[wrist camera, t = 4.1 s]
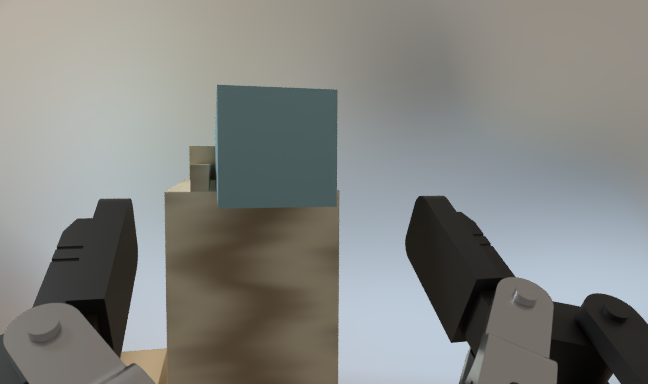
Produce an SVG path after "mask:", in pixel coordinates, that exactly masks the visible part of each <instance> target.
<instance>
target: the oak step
mask: <svg viewBox="0 0 648 384" xmlns="http://www.w3.org/2000/svg"><path fill="white" fill-rule="evenodd" d="M120 359H121V361H122V362H123V363H124V364H125V365H127V366H129V365H130V364H132V363H135V364H137V365H139V366H140V367H141V368H142V369H143V370H144V371H145V372H146V373H147V374H148V375H149V376H150V378H151V379H152V380H153V381H154V382H155V383H156V384H168V376H167V348H166V349H153V350H141V351H129V352H121V357H120Z"/></svg>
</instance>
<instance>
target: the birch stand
mask: <svg viewBox="0 0 648 384" xmlns="http://www.w3.org/2000/svg"><path fill="white" fill-rule="evenodd" d="M165 241H166V243H165V245H166V246H165V247H166V312H167V376H168V384H338V304H339V303H338V301H339V299H338V298H339V190H337V207H284V208H223V209H218V200H217V189H216V158H215V146H190V180H184V181H182V182H180V183H179V184H177V185H175V186H174V187H172V188H170V189H169V190H167V191H165Z"/></svg>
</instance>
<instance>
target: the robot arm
mask: <svg viewBox="0 0 648 384" xmlns="http://www.w3.org/2000/svg"><path fill="white" fill-rule="evenodd" d="M405 245H406V252H407V256H408V258H409V260H410V262H411V264H412V266H413V268H414V270H415V272H416V274H417V276H418V278H419V280H420V282H421V284H422V286H423V288H424V290H425V292H426V294H427V296H428V298H429V300H430V302H431V304H432V306H433V308H434V310H435V312H436V314H437V316H438V318H439V320H440V322H441V324H442V326H443V328H444V330H445V331H446V334H447V335H448V338H449V339H450V342H451V343H453V342H464V341H467V342H468V344H469V345H470V349H469V351H468V353H467V356H466V360H465V364H464V367H463V370H462V374H461V378H460V382H459V384H609V383H608V380H609V379H610V377H611V376H612V374H613V373H614V375H615V376H616V377H617V379H618V380H619V382H620V383H621V384H648V324H647V323H646V322H645V320H644V319H643V318H642V317H641V316H640V315H639V314H638V313H637V312H636V311H635V310H634V309H633V308H632V307H631V306H629V305H628V304H627V303H625V302H623V301H622V300H620V299H617V298H615V297H613V296H609V295H606V294H598V293H597V294H591V295H589V296H587V297H586V299H585V300H584V302H583V304H582V305H581V307H579V306H574V305H569V304H564V303H559V302H553V301H552V299H551V297H550V296H549V295H548V293H547V292H546V291H545V290H543V289H542V288H541V287H540V286H538V285H537V284H535V283H533V282H531V281H528V280H526V279H522V278H516V277H515V276H514V274H513V273H512V272H511V270H510V269H509V268H508V266H507V265H506V264H505V262H504V261H503V260H502V258H501V257H500V256H499V254H498V253H497V251H496V250H495V249H494V247H493V246H491V245H490V242H489V241H488V239H487V238H486V237H485V236H483V233H482V231H481V230H480V229H479V227H478V226H477V225H476V223H475V222H474V221H473V220H471V219H470V218H468V217H467V216H466V215H464V214H463V213H462V212H456V210H455V209H454V208H453V206H452V205H451V203H450V202H449V201H448V199H447V198H446V197H445V196H419V197H418V198H417V200H416V202H415V205H414V209H413V213H412V217H411V220H410V224H409V227H408V231H407V235H406V240H405ZM137 261H138V246H137V237H136V229H135V221H134V213H133V205H132V200H131V199H100V200H99V201H98V204H97V207H96V210H95V213H94V216H93V218H87V219H76V220H75V221H74V222H73V223H72V224H71V225H70V226H69V227H68V228H66V230H64V231H63V233H62V235H61V238H60V240H59V243H58V245H57V250H55V253H54V255H53V258H52V262H51V263H50V265H49V268H48V270H47V273H46V275H45V277H44V280H43V283H42V285H41V287H40V290H39V292H38V295H37V297H36V300H35V302H34V305H33V307H32V308H31V309H29V310H27V311H25V312H23V313H22V314H21V315H19V316H17V317H16V318H15V319H14V320H13V321H12V322H11V323H10V324H9V326H8V327H7V329H6V331H5V333H4V334H2V335H0V384H156V383H155V382H154V381H153V380H152V379H151V378H150V376H149V375H148V374H147V373H146V372H145V371H144V370H143V369H142V368H141V367H140V366H139V365H137V364H135V363H132V364H130V365H129V366H127V365H125V364H124V363H123V362H122V361H121V359H120V357H121V352H122V346H123V341H124V335H125V330H126V324H127V319H128V313H129V308H130V302H131V297H132V291H133V285H134V280H135V275H136V270H137Z"/></svg>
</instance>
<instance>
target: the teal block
mask: <svg viewBox="0 0 648 384" xmlns="http://www.w3.org/2000/svg"><path fill="white" fill-rule="evenodd" d="M215 158H216V189H217V200H218V209H223V208H284V207H337V90H330V89H305V88H281V87H257V86H231V85H217V101H216V127H215Z"/></svg>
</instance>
